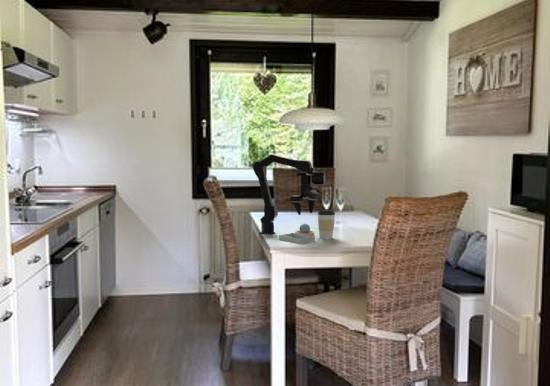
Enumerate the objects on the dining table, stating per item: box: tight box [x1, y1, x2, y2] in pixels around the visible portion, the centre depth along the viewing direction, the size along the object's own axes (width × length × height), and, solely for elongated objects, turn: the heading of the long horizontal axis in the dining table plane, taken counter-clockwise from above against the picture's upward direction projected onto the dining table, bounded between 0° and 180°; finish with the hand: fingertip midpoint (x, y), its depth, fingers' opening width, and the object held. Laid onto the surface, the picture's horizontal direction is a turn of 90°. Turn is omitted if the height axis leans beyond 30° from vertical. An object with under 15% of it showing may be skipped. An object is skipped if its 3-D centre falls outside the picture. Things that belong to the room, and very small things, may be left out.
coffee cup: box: [317, 208, 336, 240], centre depth 276 cm, size 9×9×15 cm
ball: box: [299, 223, 311, 233], centre depth 282 cm, size 6×6×6 cm
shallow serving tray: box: [278, 232, 316, 245], centre depth 269 cm, size 15×10×2 cm
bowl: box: [294, 229, 315, 236], centre depth 282 cm, size 10×10×2 cm
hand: (305, 213), depth 281 cm, fingers open, 9 cm apart
